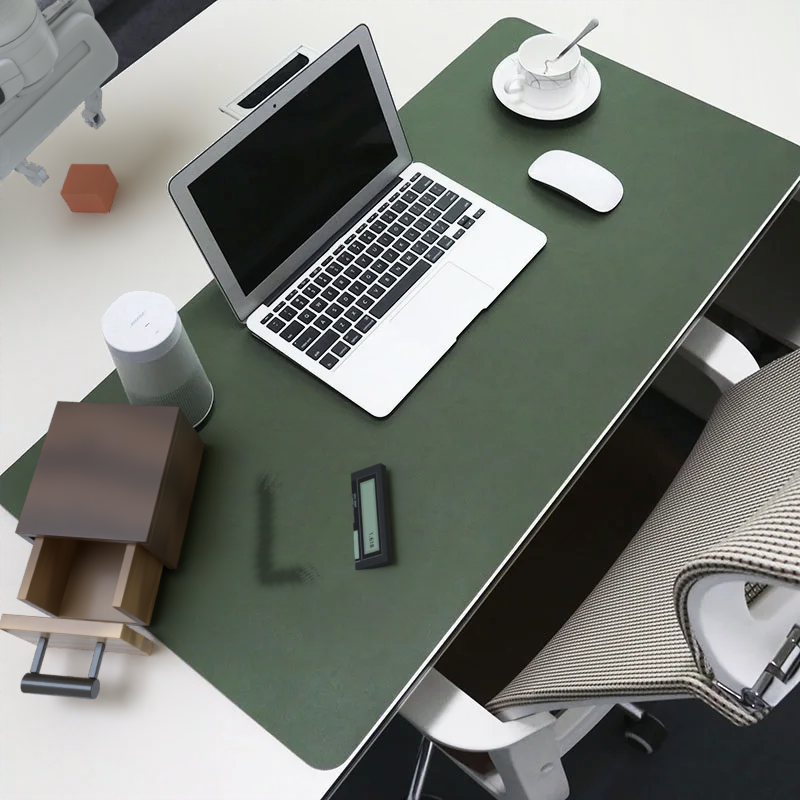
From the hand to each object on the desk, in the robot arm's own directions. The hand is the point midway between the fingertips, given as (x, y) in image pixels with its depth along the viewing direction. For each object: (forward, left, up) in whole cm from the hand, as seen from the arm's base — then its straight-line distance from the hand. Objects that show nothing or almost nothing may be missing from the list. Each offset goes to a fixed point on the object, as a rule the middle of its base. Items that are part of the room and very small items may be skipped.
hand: (69, 151), depth 92 cm
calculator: (+33, -38, -9) cm, 51 cm away
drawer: (+14, -48, -8) cm, 50 cm away
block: (0, 0, -8) cm, 9 cm away
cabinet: (+14, -37, -8) cm, 41 cm away
